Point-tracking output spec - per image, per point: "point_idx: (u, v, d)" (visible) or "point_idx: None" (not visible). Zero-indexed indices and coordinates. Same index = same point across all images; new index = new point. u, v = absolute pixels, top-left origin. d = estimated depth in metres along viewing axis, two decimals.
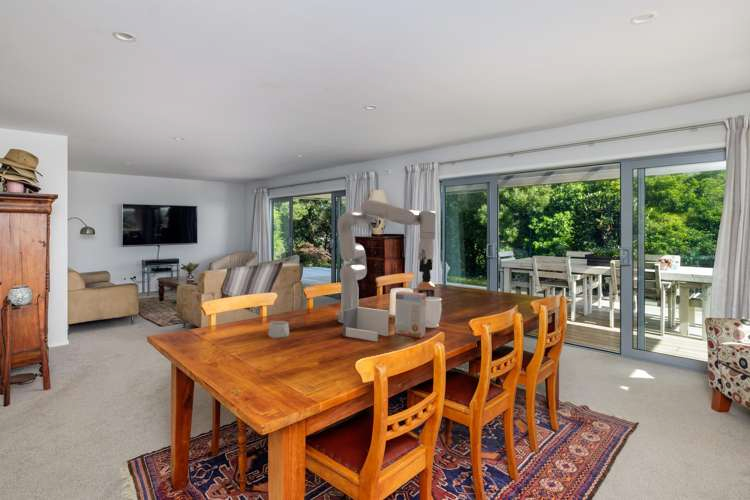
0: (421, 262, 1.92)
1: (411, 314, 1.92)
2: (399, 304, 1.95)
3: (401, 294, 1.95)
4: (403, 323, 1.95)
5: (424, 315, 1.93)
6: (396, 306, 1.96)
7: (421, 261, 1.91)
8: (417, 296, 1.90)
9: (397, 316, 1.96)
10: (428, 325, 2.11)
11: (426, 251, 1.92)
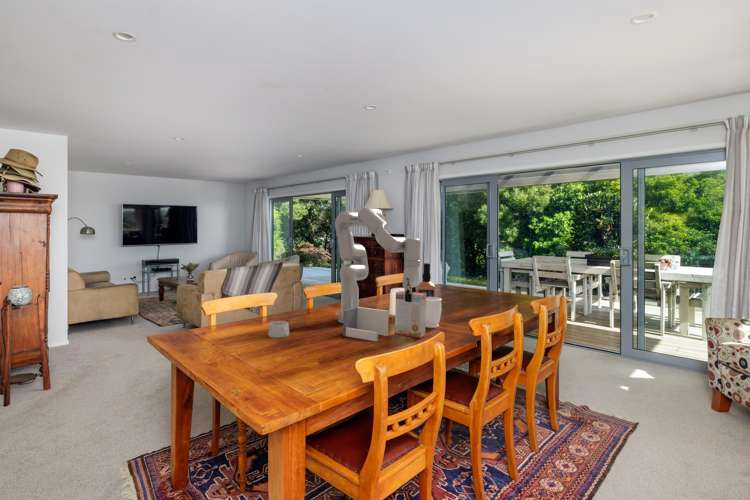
0: (406, 292, 1.91)
1: (411, 314, 1.92)
2: (399, 304, 1.95)
3: (401, 294, 1.95)
4: (403, 323, 1.95)
5: (424, 315, 1.93)
6: (396, 306, 1.96)
7: (406, 291, 1.90)
8: (417, 296, 1.90)
9: (397, 316, 1.96)
10: (428, 325, 2.11)
11: (410, 279, 1.90)
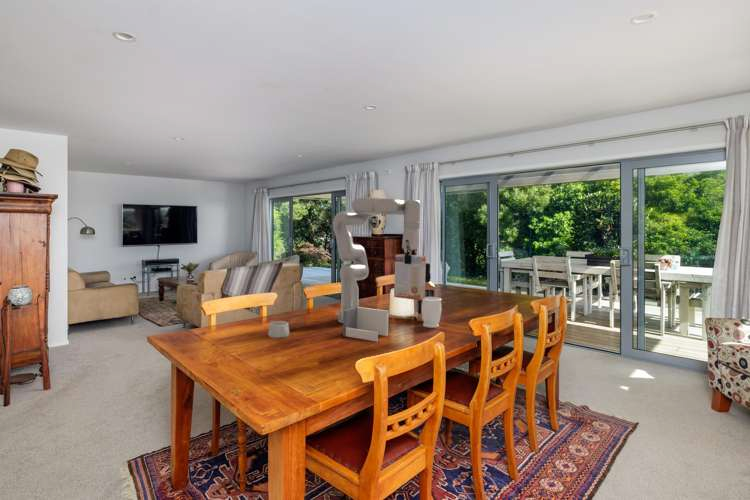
0: (406, 254, 1.89)
1: (410, 276, 1.91)
2: (399, 267, 1.94)
3: (401, 256, 1.93)
4: (402, 285, 1.93)
5: (424, 277, 1.92)
6: (395, 269, 1.95)
7: (406, 253, 1.89)
8: (417, 258, 1.89)
9: (396, 279, 1.95)
10: (428, 325, 2.11)
11: (410, 241, 1.88)
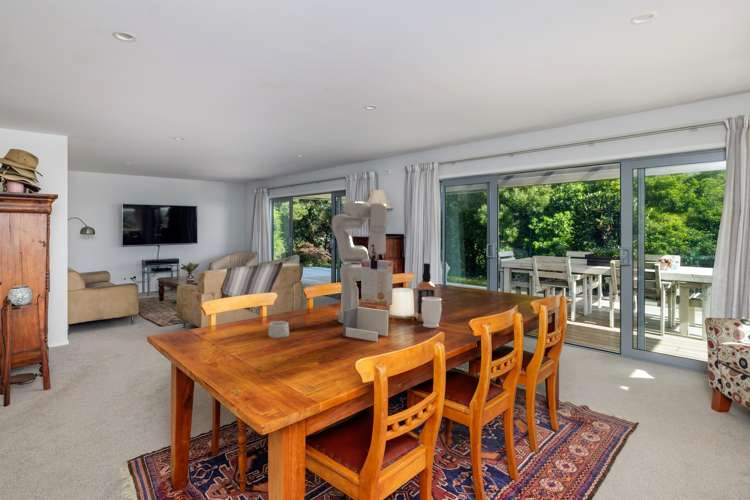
0: (372, 259, 1.84)
1: (377, 282, 1.86)
2: (365, 272, 1.89)
3: (367, 261, 1.88)
4: (369, 291, 1.88)
5: (390, 283, 1.87)
6: (362, 274, 1.90)
7: (372, 258, 1.84)
8: (383, 263, 1.84)
9: (363, 285, 1.90)
10: (428, 325, 2.11)
11: (376, 245, 1.83)
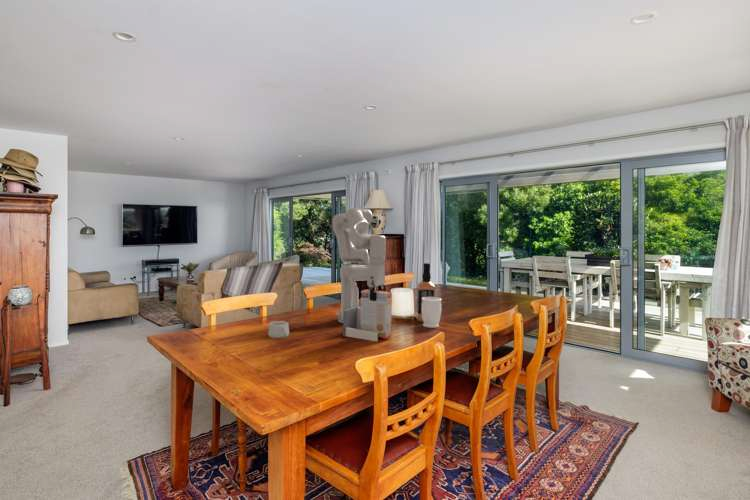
0: (371, 291, 1.85)
1: (376, 313, 1.87)
2: (364, 303, 1.90)
3: (366, 293, 1.89)
4: (368, 322, 1.89)
5: (389, 314, 1.88)
6: (361, 305, 1.91)
7: (371, 290, 1.85)
8: (382, 295, 1.85)
9: (362, 315, 1.91)
10: (428, 325, 2.11)
11: (375, 278, 1.84)
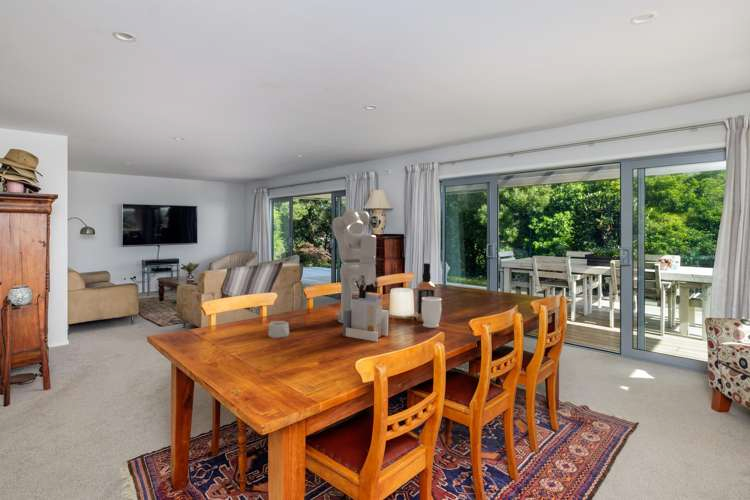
0: (360, 288, 1.86)
1: (366, 314, 1.89)
2: (355, 305, 1.92)
3: (357, 294, 1.92)
4: (358, 323, 1.92)
5: (380, 315, 1.90)
6: (352, 306, 1.93)
7: (360, 287, 1.86)
8: (372, 296, 1.88)
9: (353, 317, 1.93)
10: (428, 325, 2.11)
11: (365, 277, 1.87)
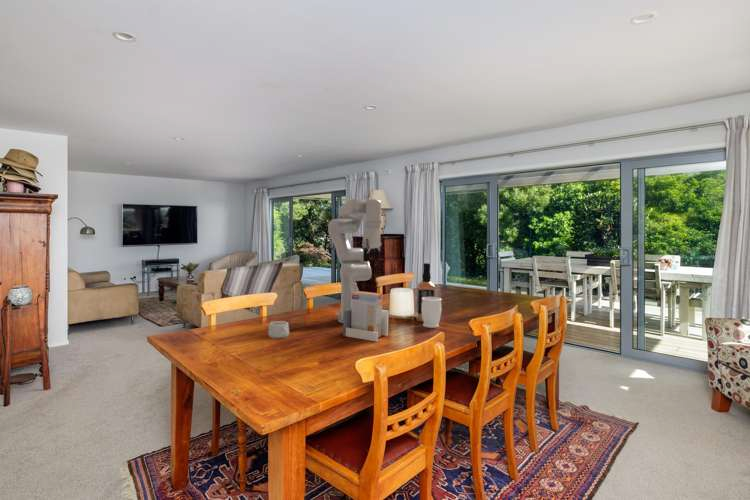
0: (364, 251, 1.90)
1: (366, 314, 1.89)
2: (355, 305, 1.92)
3: (357, 294, 1.92)
4: (358, 323, 1.92)
5: (380, 315, 1.90)
6: (352, 306, 1.93)
7: (364, 250, 1.89)
8: (372, 296, 1.88)
9: (353, 317, 1.93)
10: (428, 325, 2.11)
11: (370, 240, 1.90)
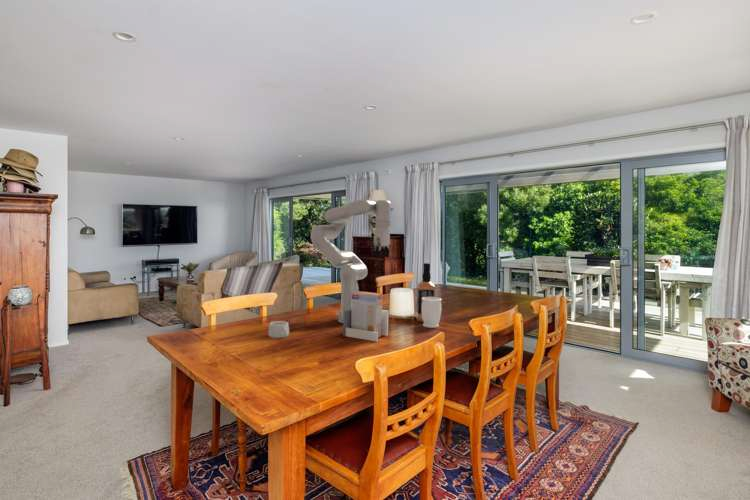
0: (376, 249, 2.02)
1: (366, 314, 1.89)
2: (355, 305, 1.92)
3: (357, 294, 1.92)
4: (358, 323, 1.92)
5: (380, 315, 1.90)
6: (352, 306, 1.93)
7: (376, 248, 2.01)
8: (372, 296, 1.88)
9: (353, 317, 1.93)
10: (428, 325, 2.11)
11: (381, 238, 2.02)
